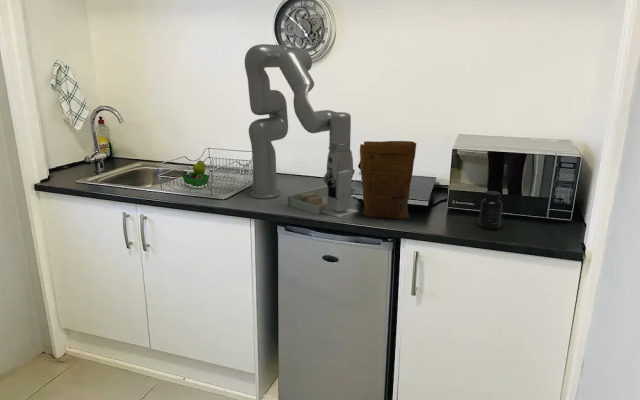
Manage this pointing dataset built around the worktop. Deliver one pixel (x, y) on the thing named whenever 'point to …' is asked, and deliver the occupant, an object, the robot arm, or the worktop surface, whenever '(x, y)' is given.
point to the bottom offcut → (322, 206)
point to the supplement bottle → (491, 210)
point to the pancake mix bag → (386, 177)
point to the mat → (339, 212)
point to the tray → (296, 203)
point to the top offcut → (311, 198)
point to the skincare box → (341, 192)
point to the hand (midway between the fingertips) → (339, 194)
